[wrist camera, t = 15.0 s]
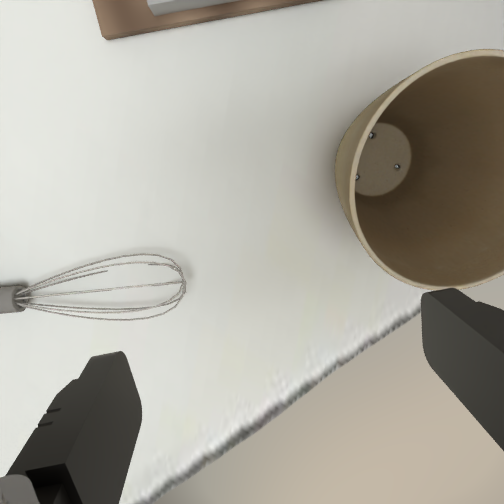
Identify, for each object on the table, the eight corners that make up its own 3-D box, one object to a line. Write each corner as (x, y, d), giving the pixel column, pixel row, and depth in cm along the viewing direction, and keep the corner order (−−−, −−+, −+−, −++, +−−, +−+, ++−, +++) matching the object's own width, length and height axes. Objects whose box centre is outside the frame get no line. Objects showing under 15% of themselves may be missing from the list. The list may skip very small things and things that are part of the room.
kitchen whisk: (-143, 283, 39) (-208, 311, 33) (184, 242, 41) (178, 262, 35) (-118, 335, 41) (-176, 370, 35) (193, 294, 43) (188, 321, 37)
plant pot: (275, 129, 37) (310, 130, 22) (414, 52, 36) (552, -4, 21) (336, 256, 42) (400, 327, 27) (462, 191, 41) (604, 227, 25)
